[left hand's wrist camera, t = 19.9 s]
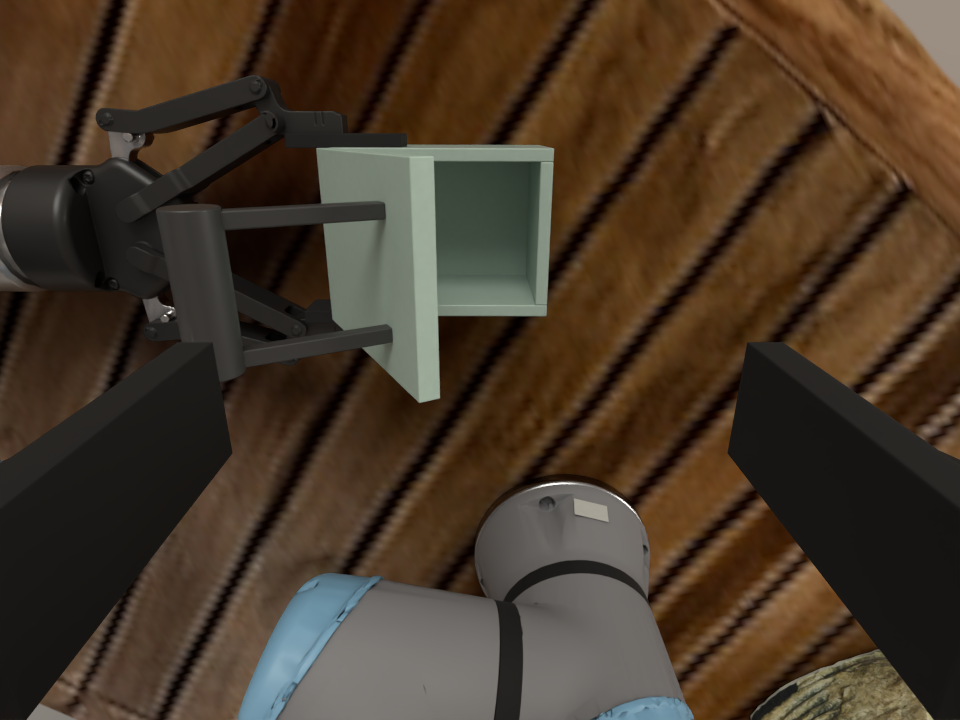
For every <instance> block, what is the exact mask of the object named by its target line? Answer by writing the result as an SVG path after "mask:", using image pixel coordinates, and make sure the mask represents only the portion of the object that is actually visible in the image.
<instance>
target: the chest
mask: <svg viewBox="0 0 960 720" xmlns="http://www.w3.org/2000/svg"><path fill="white" fill-rule="evenodd" d="M331 148H341V149H353V150H365V151H377V152H389V153H401V154H414V155H426V156H433V157H434V181H435V220H436V260H437V299H438V316H546V313H547V291H548V269H549V247H550V226H551V204H552V182H553V161H554V149H553V148H549V147H545V146H540V145H407V147H331Z"/></svg>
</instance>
